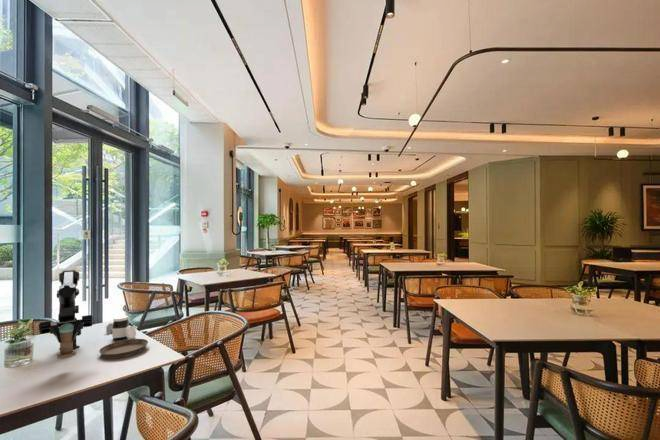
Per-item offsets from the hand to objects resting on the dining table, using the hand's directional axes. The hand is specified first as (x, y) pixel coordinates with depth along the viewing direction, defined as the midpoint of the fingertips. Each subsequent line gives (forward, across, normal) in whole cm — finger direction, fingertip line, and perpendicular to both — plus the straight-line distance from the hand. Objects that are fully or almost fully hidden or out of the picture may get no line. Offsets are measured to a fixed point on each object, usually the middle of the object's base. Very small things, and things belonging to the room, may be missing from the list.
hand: (66, 341), depth 145 cm
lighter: (-28, +20, +47) cm, 58 cm away
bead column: (+4, 0, +6) cm, 7 cm away
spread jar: (-15, +24, +34) cm, 44 cm away
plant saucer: (+2, +22, +17) cm, 28 cm away
